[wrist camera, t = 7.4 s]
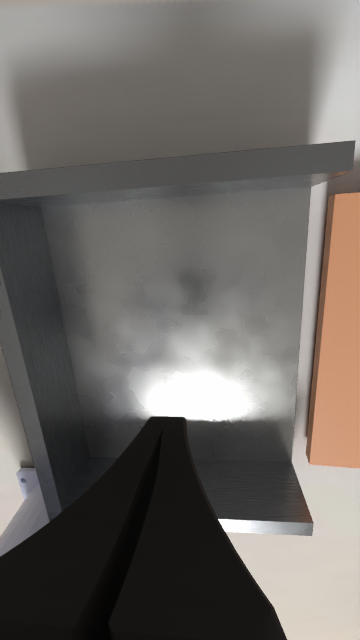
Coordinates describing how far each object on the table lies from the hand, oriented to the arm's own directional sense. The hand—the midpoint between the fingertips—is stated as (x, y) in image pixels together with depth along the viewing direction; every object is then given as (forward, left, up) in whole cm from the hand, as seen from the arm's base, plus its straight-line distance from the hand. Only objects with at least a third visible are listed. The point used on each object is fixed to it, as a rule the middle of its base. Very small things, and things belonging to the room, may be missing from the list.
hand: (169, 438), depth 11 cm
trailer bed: (0, +1, -9) cm, 9 cm away
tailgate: (0, -8, -8) cm, 11 cm away
